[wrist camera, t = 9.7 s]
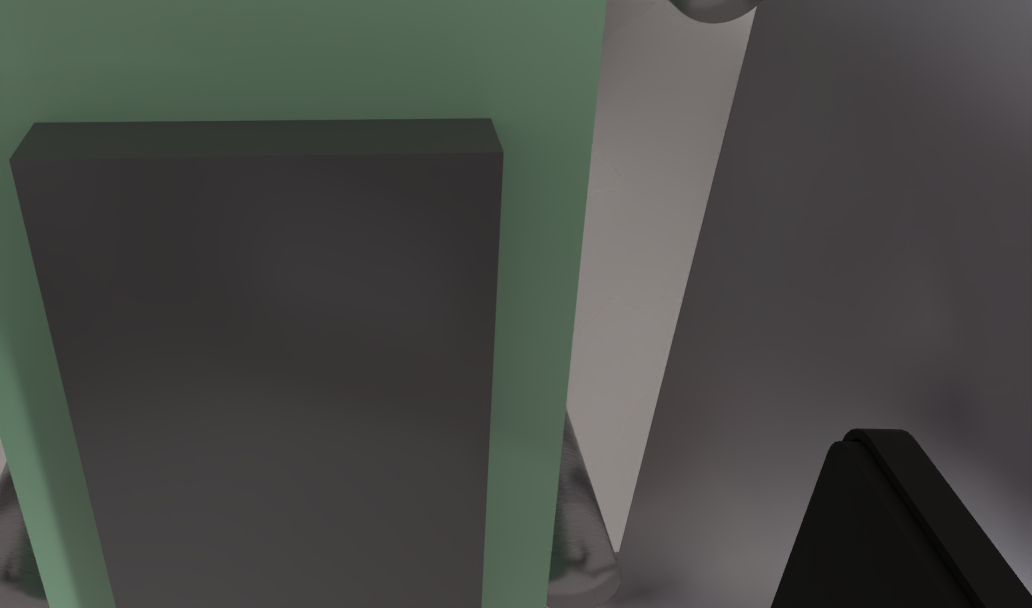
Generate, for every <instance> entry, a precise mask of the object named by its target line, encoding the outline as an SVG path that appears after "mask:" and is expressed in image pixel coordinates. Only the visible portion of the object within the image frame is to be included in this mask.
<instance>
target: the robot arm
mask: <svg viewBox="0 0 1032 608" xmlns="http://www.w3.org/2000/svg"><path fill="white" fill-rule="evenodd" d="M771 608H1032V595H1031V594H1030V593H1029V591H1028V590H1027V589H1026V587H1025V586H1024V585H1023V583H1022V582H1021V581H1020V579H1019V578H1018V577H1017V575H1016V574H1015V573H1014V571H1013V570H1012V569H1011V567H1010V566H1009V565H1008V563H1007V562H1006V561H1005V559H1004V558H1003V557H1002V555H1001V554H1000V553H999V551H998V550H997V548H996V547H995V546H994V544H993V543H992V542H991V540H990V539H989V538H988V536H987V535H986V534H985V532H984V531H983V530H982V528H981V527H980V526H979V524H978V523H977V522H976V520H975V519H974V518H973V516H972V515H971V514H970V512H969V511H968V510H967V508H966V507H965V506H964V504H963V503H962V502H961V500H960V499H959V498H958V496H957V495H956V494H955V492H954V491H953V490H952V488H951V487H950V486H949V484H948V483H947V482H946V480H945V479H944V478H943V476H942V475H941V473H940V472H939V471H938V469H937V468H936V467H935V465H934V464H933V463H932V461H931V460H930V459H929V457H928V456H927V455H926V453H925V452H924V451H923V449H922V448H921V447H920V445H919V444H918V443H917V441H916V440H915V439H914V438H913V437H912V436H911V435H910V434H909V433H908V432H906V431H904V430H898V429H853V430H850V431H849V432H848V433H847V434H846V435H845V437H844V439H843V441H838V442H835V443H834V444H832V445H831V447H830V449H829V451H828V453H827V456H826V458H825V461H824V464H823V467H822V469H821V472H820V475H819V477H818V480H817V483H816V486H815V488H814V491H813V494H812V497H811V499H810V502H809V505H808V507H807V510H806V513H805V516H804V518H803V521H802V524H801V527H800V529H799V532H798V535H797V537H796V540H795V543H794V546H793V548H792V551H791V554H790V557H789V559H788V562H787V565H786V567H785V570H784V573H783V576H782V578H781V581H780V584H779V587H778V589H777V592H776V595H775V597H774V600H773V603H772V606H771Z"/></svg>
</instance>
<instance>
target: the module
mask: <svg viewBox="0 0 1032 608" xmlns="http://www.w3.org/2000/svg"><path fill="white" fill-rule="evenodd" d="M606 2H607V0H0V439H1V442H2V445H3V449H4V452H5V456H6V459H7V463H8V466H9V470H10V473H11V476H12V480H13V483H14V487H15V490H16V494H17V497H18V500H19V504H20V507H21V511H22V514H23V518H24V521H25V524H26V528H27V531H28V535H29V538H30V542H31V545H32V549H33V552H34V555H35V559H36V562H37V566H38V569H39V573H40V576H41V579H42V583H43V586H44V590H45V593H46V597H47V600H48V603H49V607H50V608H546V602H547V592H548V582H549V572H550V562H551V552H552V542H553V532H554V522H555V512H556V502H557V492H558V482H559V472H560V462H561V452H562V442H563V432H564V422H565V412H566V402H567V392H568V382H569V372H570V362H571V352H572V342H573V332H574V322H575V312H576V302H577V292H578V282H579V272H580V262H581V252H582V242H583V232H584V222H585V212H586V202H587V192H588V182H589V172H590V162H591V152H592V142H593V132H594V122H595V112H596V102H597V92H598V82H599V72H600V62H601V52H602V42H603V32H604V22H605V12H606Z"/></svg>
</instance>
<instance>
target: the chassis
mask: <svg viewBox="0 0 1032 608" xmlns="http://www.w3.org/2000/svg"><path fill="white" fill-rule="evenodd" d="M761 1H762V0H607V2H606V12H605V22H604V32H603V42H602V52H601V62H600V72H599V82H598V92H597V102H596V112H595V122H594V132H593V142H592V152H591V162H590V172H589V182H588V192H587V202H586V212H585V222H584V232H583V242H582V252H581V262H580V272H579V282H578V292H577V302H576V312H575V322H574V332H573V342H572V352H571V362H570V372H569V382H568V392H567V402H566V412H565V422H564V432H563V442H562V452H561V462H560V472H559V482H558V492H557V502H556V512H555V522H554V532H553V542H552V552H551V562H550V572H549V582H548V592H547V602H546V605H547V606H548V607H550V608H595V607H597V606H599V605H601V604H603V603H604V602H606V601H607V600H608V599H610V598H611V597H612V596H613V595H614V594H615V592H616V591H617V589H618V587H619V585H620V582H621V571H620V568H619V565H618V562H617V559H616V556H615V553H614V552H619V550H620V546H621V542H622V538H623V534H624V530H625V526H626V522H627V518H628V514H629V510H630V506H631V502H632V498H633V494H634V490H635V486H636V482H637V478H638V474H639V470H640V467H641V463H642V459H643V455H644V451H645V447H646V443H647V439H648V435H649V431H650V427H651V423H652V419H653V415H654V411H655V407H656V403H657V399H658V395H659V391H660V387H661V383H662V379H663V376H664V372H665V368H666V364H667V360H668V356H669V352H670V348H671V344H672V340H673V336H674V332H675V328H676V324H677V320H678V316H679V312H680V308H681V304H682V300H683V296H684V292H685V288H686V285H687V281H688V277H689V273H690V269H691V265H692V261H693V257H694V253H695V249H696V245H697V241H698V237H699V233H700V229H701V225H702V221H703V217H704V213H705V209H706V205H707V201H708V197H709V194H710V190H711V186H712V182H713V178H714V174H715V170H716V166H717V162H718V158H719V154H720V150H721V146H722V142H723V138H724V134H725V130H726V126H727V122H728V118H729V114H730V110H731V106H732V103H733V99H734V95H735V91H736V87H737V83H738V79H739V75H740V71H741V67H742V63H743V59H744V55H745V51H746V47H747V43H748V39H749V35H750V31H751V27H752V23H753V19H754V16H755V12H756V8H757V5H758V4H759V3H760V2H761ZM0 608H50V607H49V603H48V600H47V597H46V593H45V590H44V586H43V583H42V579H41V576H40V573H39V569H38V566H37V562H36V559H35V555H34V552H33V549H32V545H31V542H30V538H29V535H28V531H27V528H26V524H25V521H24V518H23V514H22V511H21V507H20V504H19V500H18V497H17V494H16V490H15V487H14V483H13V480H12V476H11V473H10V470H9V466H8V463H7V459H6V456H5V452H4V449H3V445H2V442H1V439H0Z"/></svg>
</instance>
